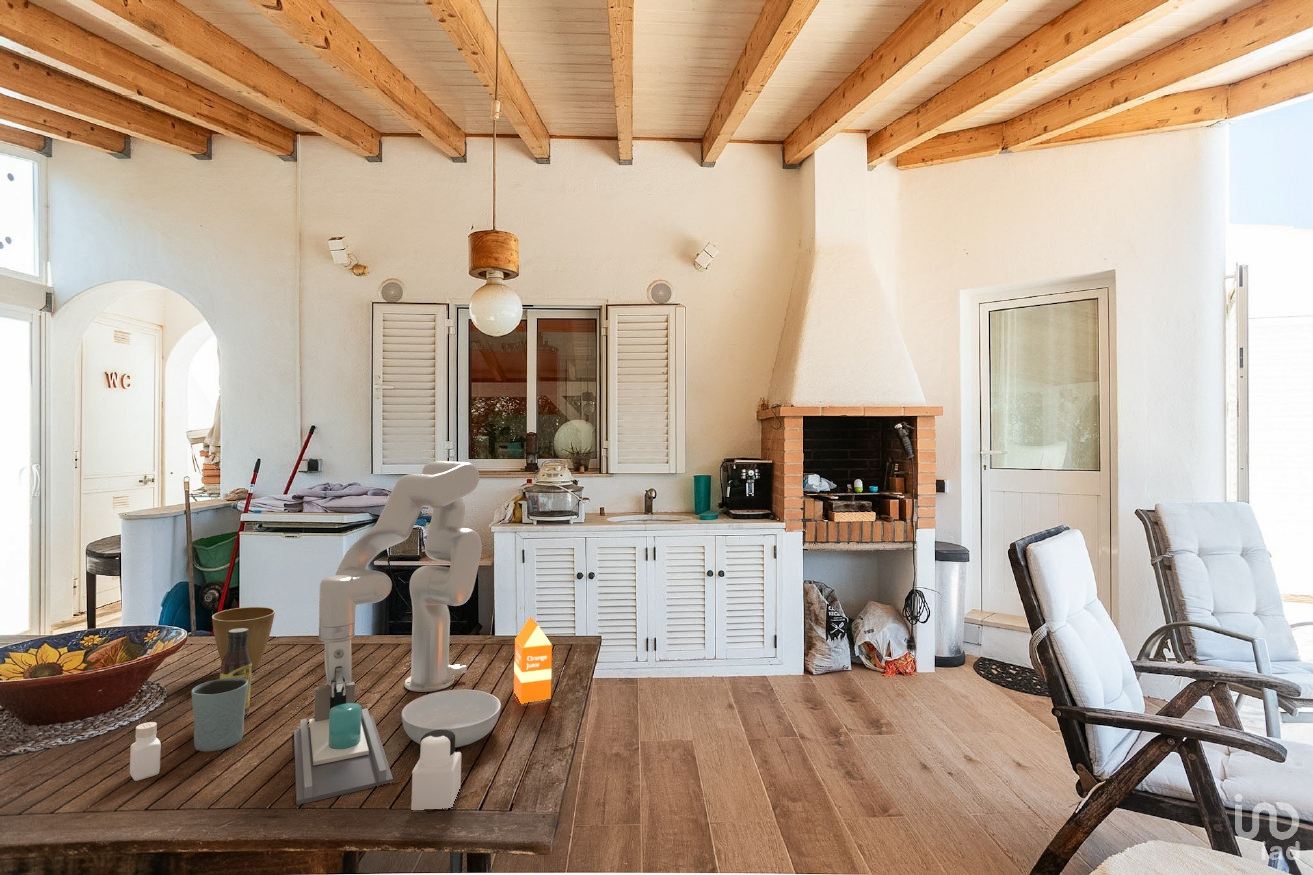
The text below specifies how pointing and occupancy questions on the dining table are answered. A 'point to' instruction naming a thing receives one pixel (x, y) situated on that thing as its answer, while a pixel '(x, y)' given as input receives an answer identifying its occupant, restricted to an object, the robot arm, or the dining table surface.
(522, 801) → the dining table surface
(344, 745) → the canister
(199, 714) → the grey-blue cup
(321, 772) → the rail base
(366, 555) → the robot arm
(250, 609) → the plant pot
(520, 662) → the orange juice
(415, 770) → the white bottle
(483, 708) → the serving bowl
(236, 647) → the sauce bottle
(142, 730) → the pepper shaker
